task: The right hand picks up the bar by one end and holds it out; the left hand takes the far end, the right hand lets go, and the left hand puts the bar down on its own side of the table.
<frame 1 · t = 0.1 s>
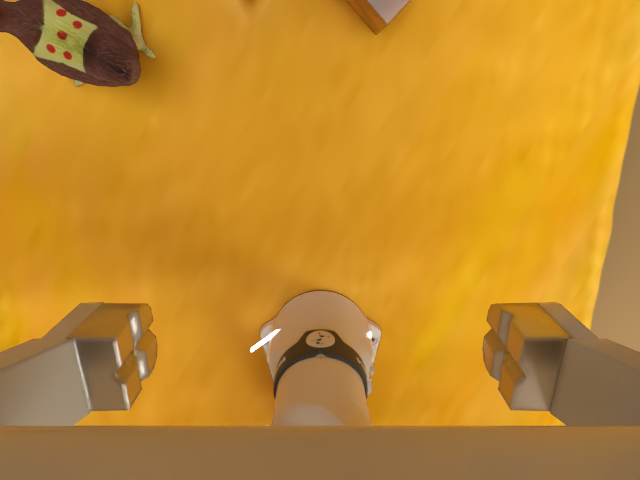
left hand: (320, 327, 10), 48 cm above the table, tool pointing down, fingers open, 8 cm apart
figurine: (118, 61, 52), on the table
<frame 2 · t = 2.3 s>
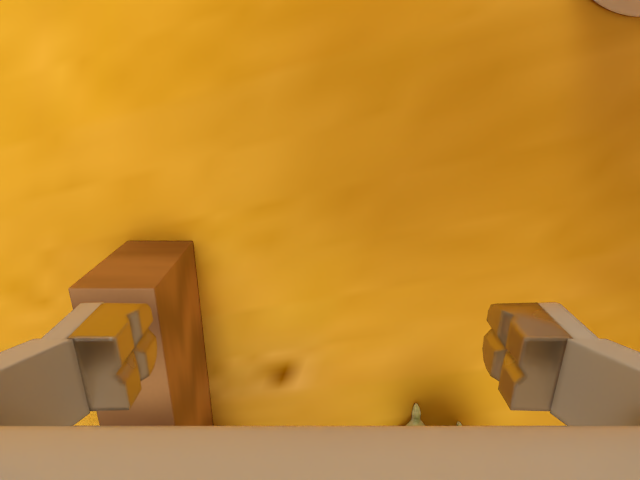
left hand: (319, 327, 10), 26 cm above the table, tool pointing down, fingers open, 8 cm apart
bar: (175, 353, 41), on the table, touching right hand
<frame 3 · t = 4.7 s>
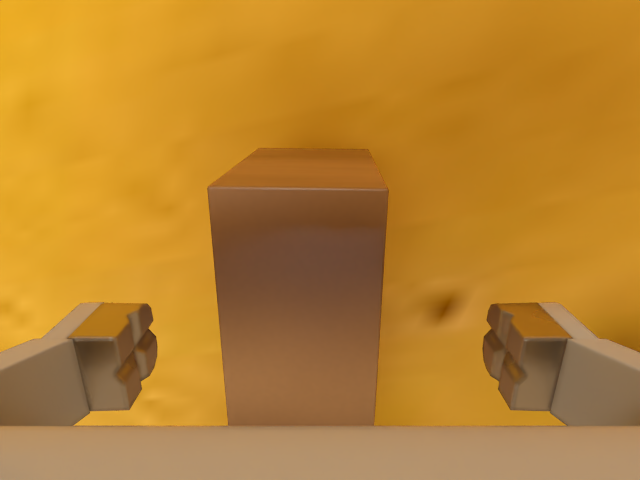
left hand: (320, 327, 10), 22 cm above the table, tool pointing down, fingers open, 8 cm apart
bar: (313, 341, 26), point 8 cm above the table, touching right hand
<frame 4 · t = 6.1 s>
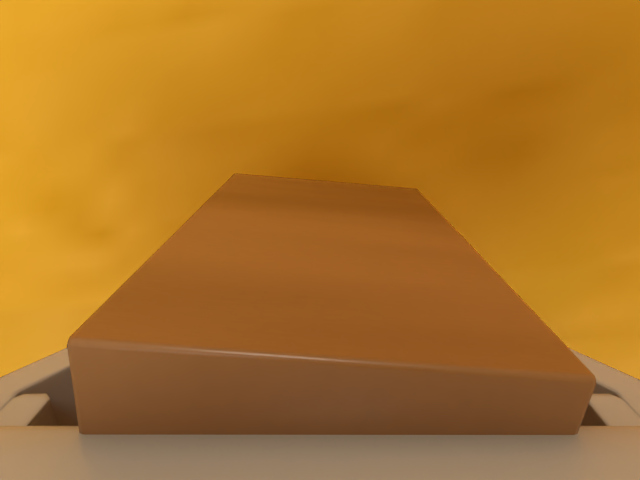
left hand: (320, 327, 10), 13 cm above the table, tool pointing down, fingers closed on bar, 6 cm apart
bar: (300, 464, 17), point 8 cm above the table, touching left hand, right hand
when the right hand's fingers open (13 cm above the table, at t = 7.4 s): bar stays where it is, held by the left hand.
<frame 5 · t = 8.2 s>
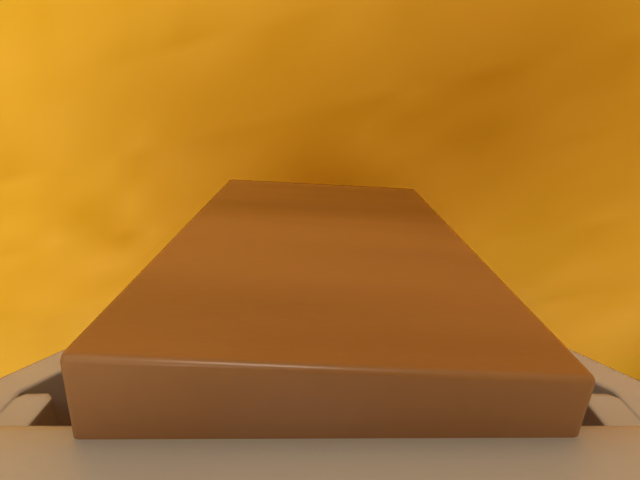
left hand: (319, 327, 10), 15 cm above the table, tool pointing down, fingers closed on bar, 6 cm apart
bar: (306, 468, 17), point 11 cm above the table, touching left hand
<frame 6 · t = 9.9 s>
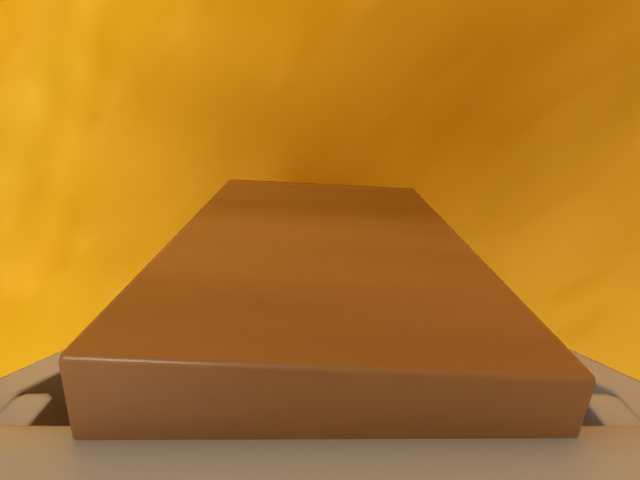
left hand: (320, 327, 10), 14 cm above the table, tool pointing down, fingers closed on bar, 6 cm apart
bar: (306, 468, 17), point 10 cm above the table, touching left hand
when the left hand's fingers open (5 cm above the table, at t = 11.2 s): bar stays where it is, on the table.
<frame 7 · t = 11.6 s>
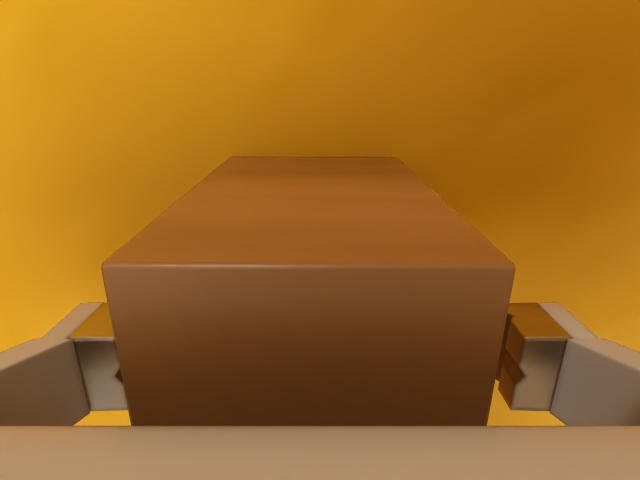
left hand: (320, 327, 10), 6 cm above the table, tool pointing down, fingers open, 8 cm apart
bar: (313, 425, 18), on the table
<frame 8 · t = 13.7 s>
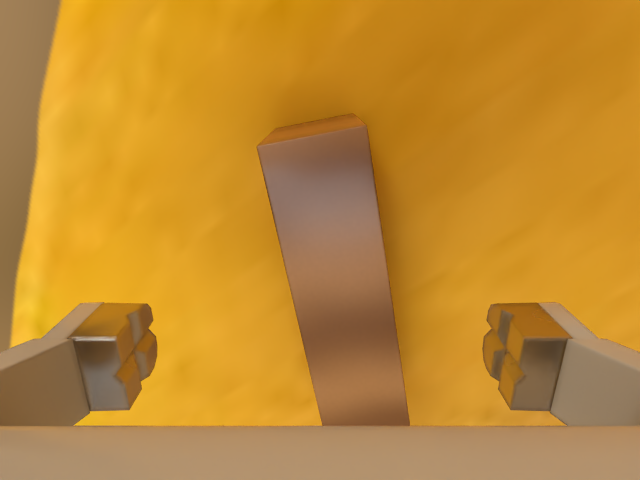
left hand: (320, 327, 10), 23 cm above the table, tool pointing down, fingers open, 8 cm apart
bar: (341, 268, 34), on the table
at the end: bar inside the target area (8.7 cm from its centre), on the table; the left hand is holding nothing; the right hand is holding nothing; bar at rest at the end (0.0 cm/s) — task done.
